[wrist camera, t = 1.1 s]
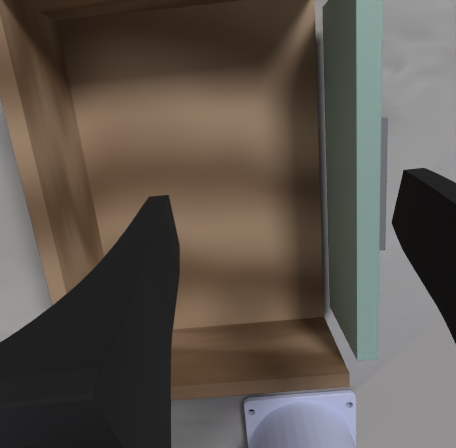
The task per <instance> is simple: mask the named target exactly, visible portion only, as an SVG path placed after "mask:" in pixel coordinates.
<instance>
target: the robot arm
mask: <svg viewBox="0 0 456 448" xmlns="http://www.w3.org/2000/svg"><path fill="white" fill-rule="evenodd" d="M392 225H393V227H394V230H395V233H396V235H397V238H398V240H399V242H400V245H401V247H402V249H403V251H404V253H405V254H406V256H407V258H408V259H409V261H410V263H411V264H412V266H413V268H414V269H415V271H416V273H417V274H418V276H419V278H420V279H421V281H422V282H423V284H424V286H425V287H426V289H427V291H428V292H429V294H430V296H431V297H432V299H433V300H434V302H435V304H436V305H437V307H438V309H439V311H440V312H441V314H442V316H443V318H444V320H445V322H446V323H447V326H448V328H449V330H450V333H451V335H452V337H453V339H454V341H455V343H456V183H455V182H453V181H451V180H449V179H447V178H445V177H443V176H441V175H439V174H437V173H435V172H432V171H430V170H428V169H425V168H419V169H409V170H404V171H403V175H402V180H401V184H400V188H399V193H398V197H397V201H396V206H395V210H394V215H393V219H392ZM179 276H180V244H179V239H178V235H177V230H176V226H175V221H174V216H173V212H172V207H171V203H170V198H169V195H161V196H151V197H148V199H147V200H146V201H145V203H144V204H143V206H142V207H141V209H140V210H139V212H138V213H137V214H136V216H135V217H134V219H133V220H132V222H131V223H130V225H129V226H128V227H127V229H126V230H125V231H124V233H123V234H122V235H121V237H120V238H119V239H118V241H117V242H116V243H115V244H114V246H113V247H112V248H111V249H110V250H109V252H108V253H107V254H106V255H105V256H104V258H103V259H102V260H101V261H100V262H99V263H98V264H97V265H96V267H95V268H94V269H93V270H92V271H91V272H90V273H89V274H88V275H87V276H86V277H85V278H84V279H83V280H82V281H81V282H79V283H78V284H77V285H76V286H75V287H74V288H73V289H72V290H70V291H69V292H68V293H67V294H66V295H64V296H63V297H62V298H61V299H60V300H59V301H57V302H56V303H55V304H54V305H53V306H51V307H50V308H49V309H48V310H46V311H45V312H44V313H42V314H41V315H40V316H38V317H37V318H36V319H34V320H33V321H31V322H30V323H29V324H27V325H26V326H24V327H23V328H22V329H20V330H19V331H17V332H16V333H14V334H13V335H11V336H10V337H8V338H7V339H5V340H3V341H2V342H0V448H171V346H172V333H173V325H174V317H175V309H176V301H177V293H178V284H179ZM347 402H351V403H350V404H346V403H347ZM251 409H252V410H254V411H249V410H251ZM244 412H245V422H246V431H247V441H248V448H356V397H355V394H354V392H353V391H351V390H342V391H328V392H315V393H302V394H289V395H276V396H263V397H250V398H247V399H245V401H244Z"/></svg>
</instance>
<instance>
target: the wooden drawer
mask: <svg viewBox="0 0 456 448" xmlns="http://www.w3.org/2000/svg"><path fill="white" fill-rule="evenodd" d="M0 98H1V102H2V106H3V110H4V114H5V118H6V122H7V126H8V130H9V134H10V138H11V142H12V146H13V150H14V154H15V158H16V162H17V166H18V170H19V174H20V178H21V182H22V186H23V190H24V194H25V198H26V202H27V206H28V210H29V214H30V218H31V222H32V226H33V230H34V234H35V238H36V242H37V246H38V250H39V254H40V258H41V262H42V266H43V270H44V274H45V278H46V282H47V286H48V290H49V294H50V298H51V302H52V306H53V305H54V304H55V303H56V302H57V301H59V300H60V299H61V298H62V297H63V296H64V295H66V294H67V293H68V292H69V291H70V290H72V289H73V288H74V287H75V286H76V285H77V284H78V283H79V282H81V281H82V280H83V279H84V278H85V277H86V276H87V275H88V274H89V273H90V272H91V271H92V270H93V269H94V268H95V267H96V265H97V264H98V263H99V262H100V261H101V260H102V259H103V258H104V256H105V255H106V254H107V253H108V252H109V250H110V249H111V248H112V247H113V246H114V244H115V243H116V242H117V241H118V239H119V238H120V237H121V235H122V234H123V233H124V231H125V230H126V229H127V227H128V226H129V225H130V223H131V222H132V220H133V219H134V217H135V216H136V214H137V213H138V212H139V210H140V209H141V207H142V206H143V204H144V203H145V201H146V200H147V199H148V197H151V196H161V195H169V198H170V203H171V207H172V212H173V216H174V221H175V226H176V230H177V235H178V239H179V244H180V276H179V284H178V293H177V301H176V309H175V317H174V325H173V333H172V346H171V400H182V399H195V398H208V397H221V396H234V395H247V394H260V393H273V392H287V391H300V390H313V389H326V388H339V387H349V372H348V369H347V367H346V365H345V363H344V360H343V358H342V356H341V354H340V352H339V349H338V347H337V345H336V343H335V340H334V338H333V336H332V334H331V332H330V329H329V327H328V325H327V323H326V320H325V318H324V304H323V270H322V237H321V204H320V170H319V137H318V104H317V70H316V37H315V4H314V0H0Z"/></svg>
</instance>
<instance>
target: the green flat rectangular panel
mask: <svg viewBox="0 0 456 448" xmlns="http://www.w3.org/2000/svg"><path fill="white" fill-rule="evenodd" d="M382 29H383V0H328V2H327V3H326V4H325V5H324V6H323V46H324V87H325V127H326V167H327V207H328V248H329V288H330V308H331V310H332V312H333V314H334V316H335V318H336V320H337V322H338V323H339V325H340V327H341V329H342V331H343V333H344V335H345V337H346V339H347V341H348V343H349V345H350V347H351V349H352V351H353V353H354V355H355V357H356V359H357V361H361V360H374V359H378V302H379V251H380V250H385V235H386V184H387V132H388V118H381V97H382Z"/></svg>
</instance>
